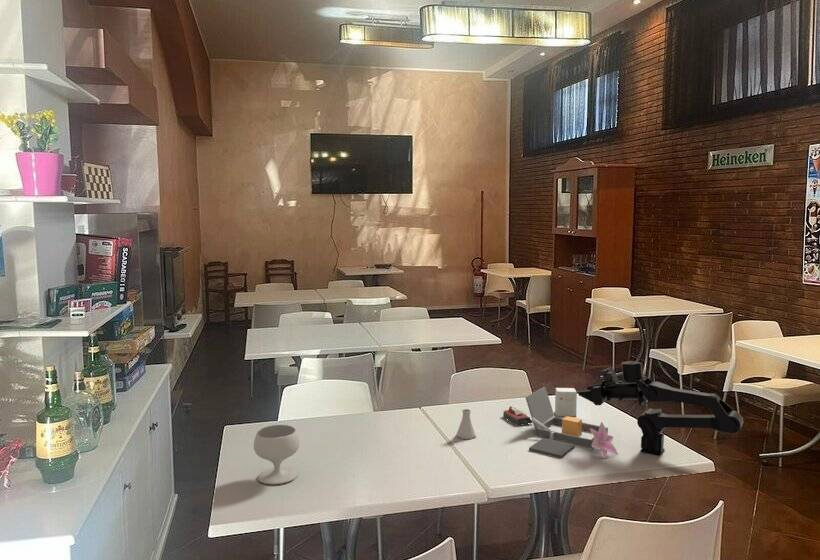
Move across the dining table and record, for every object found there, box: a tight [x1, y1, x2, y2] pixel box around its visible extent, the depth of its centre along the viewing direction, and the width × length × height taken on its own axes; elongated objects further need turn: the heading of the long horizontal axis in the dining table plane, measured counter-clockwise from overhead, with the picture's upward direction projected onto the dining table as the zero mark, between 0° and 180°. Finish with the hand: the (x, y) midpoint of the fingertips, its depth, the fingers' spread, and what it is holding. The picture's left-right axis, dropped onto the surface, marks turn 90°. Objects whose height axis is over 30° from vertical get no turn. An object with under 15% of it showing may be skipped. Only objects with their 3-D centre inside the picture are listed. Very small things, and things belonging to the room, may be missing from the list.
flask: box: [456, 408, 477, 440], centre depth 225 cm, size 7×7×10 cm
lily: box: [589, 421, 619, 460], centre depth 208 cm, size 12×12×10 cm
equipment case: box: [525, 386, 609, 448], centre depth 227 cm, size 26×18×14 cm
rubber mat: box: [528, 437, 576, 459], centre depth 212 cm, size 12×12×1 cm
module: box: [561, 416, 583, 437], centre depth 226 cm, size 6×4×6 cm
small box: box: [554, 387, 578, 417], centre depth 250 cm, size 8×6×10 cm
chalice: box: [253, 424, 300, 485], centre depth 189 cm, size 14×14×15 cm
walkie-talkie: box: [502, 406, 533, 426], centre depth 246 cm, size 9×4×20 cm
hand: (582, 390), depth 224 cm, fingers open, 9 cm apart
